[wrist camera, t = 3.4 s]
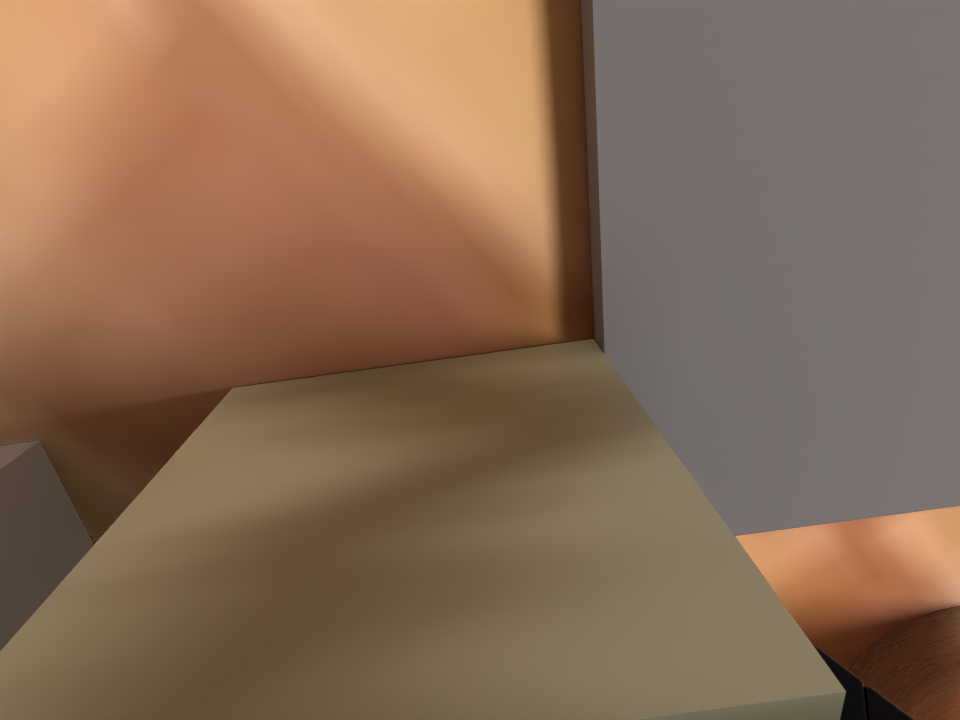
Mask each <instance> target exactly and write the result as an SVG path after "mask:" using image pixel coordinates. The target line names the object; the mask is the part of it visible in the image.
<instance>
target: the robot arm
mask: <svg viewBox="0 0 960 720" xmlns="http://www.w3.org/2000/svg"><path fill="white" fill-rule="evenodd" d="M812 645H813V646H814V647H815V649H816V650H817V652H818V653H819V654H820V656H821V657H822V659H823V660H824V661H825V663H826V664H827V666H828V667H829V668H830V670H831V671H832V673H833V674H834V675H835V677H836V678H837V679H838V681H839V682H840V684H841V685H842V686H843V688H844V689H845V691H846V694H845V699H844V703H843V708H842V713H841V717H840V720H915V719H914V718H912V717H911V716H909V715H908V714H907V713H905V712H904V711H903V710H901V709H900V708H899V707H897V706H896V705H895V704H893V703H892V702H891V701H889V700H888V699H887V698H885V697H884V696H883V695H881V694H880V693H879V692H877V691H876V690H875V689H873V688H872V687H870V686H865V687H864V683H863V681H862V680H861V679H859V678H858V677H857V676H855V675H854V674H853V673H851V672H850V671H849V670H847V669H846V668H845V667H843V666H842V665H841V664H839V663H838V662H837V661H835V660H834V659H833V658H831V657H830V656H829V655H827V654H826V653H825V652H823V651H822V650H821V649H819V648H818V647H817V646H815V645H814V644H813V643H812Z"/></svg>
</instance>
